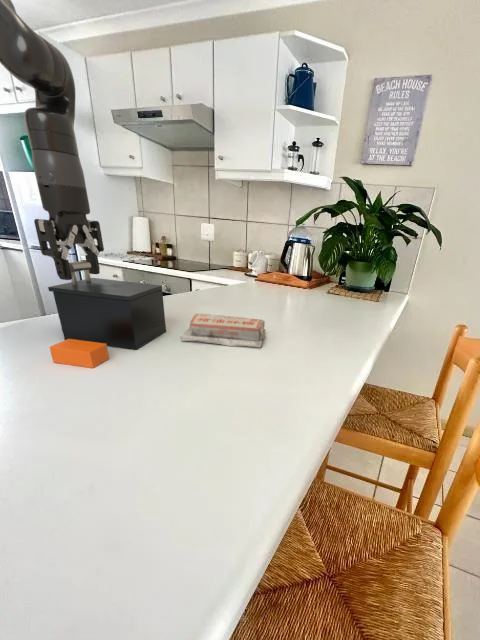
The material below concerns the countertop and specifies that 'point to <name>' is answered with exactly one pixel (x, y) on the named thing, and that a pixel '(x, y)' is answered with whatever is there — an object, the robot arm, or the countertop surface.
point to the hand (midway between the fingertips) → (80, 276)
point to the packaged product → (225, 330)
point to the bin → (112, 319)
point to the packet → (79, 353)
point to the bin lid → (102, 285)
